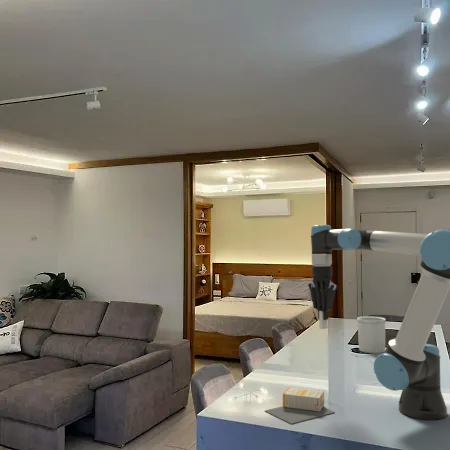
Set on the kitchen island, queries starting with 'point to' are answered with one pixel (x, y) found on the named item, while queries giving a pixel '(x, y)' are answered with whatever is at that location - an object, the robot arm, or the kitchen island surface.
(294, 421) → the mat
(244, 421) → the kitchen island surface
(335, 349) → the kitchen island surface
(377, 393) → the kitchen island surface
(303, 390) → the supplement box
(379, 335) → the utensil holder
